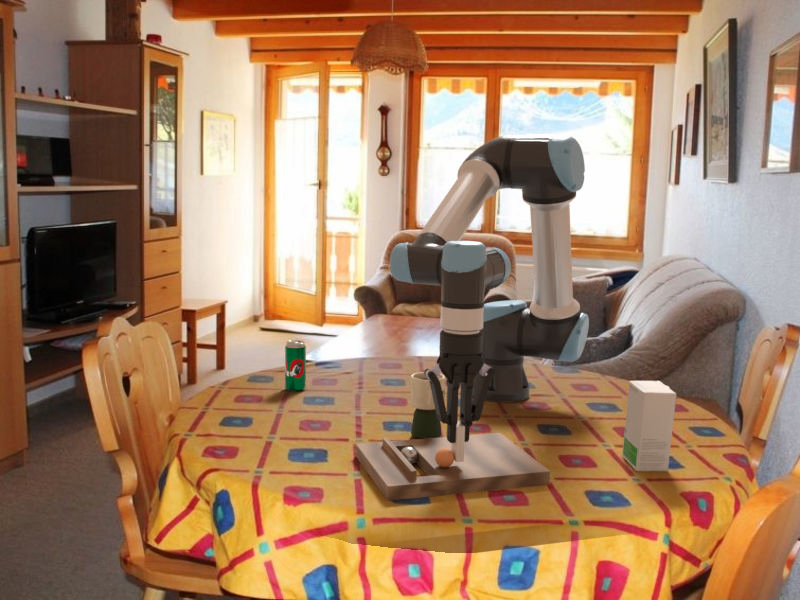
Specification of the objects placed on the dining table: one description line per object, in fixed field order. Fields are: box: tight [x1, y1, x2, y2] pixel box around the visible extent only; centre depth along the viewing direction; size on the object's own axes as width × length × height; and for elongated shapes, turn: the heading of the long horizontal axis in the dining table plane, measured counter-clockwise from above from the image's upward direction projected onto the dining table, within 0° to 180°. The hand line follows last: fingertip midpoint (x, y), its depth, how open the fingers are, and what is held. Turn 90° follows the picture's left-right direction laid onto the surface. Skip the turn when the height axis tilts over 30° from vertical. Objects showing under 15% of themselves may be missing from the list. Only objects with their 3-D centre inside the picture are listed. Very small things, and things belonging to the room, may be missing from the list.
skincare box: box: [621, 380, 677, 472], centre depth 159 cm, size 8×7×16 cm
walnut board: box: [355, 432, 551, 501], centre depth 155 cm, size 30×22×4 cm
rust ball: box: [435, 448, 454, 468], centre depth 149 cm, size 3×3×3 cm
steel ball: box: [401, 447, 418, 466], centre depth 157 cm, size 3×3×3 cm
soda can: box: [284, 339, 307, 392], centre depth 206 cm, size 5×5×12 cm
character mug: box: [409, 371, 446, 439], centre depth 172 cm, size 11×7×13 cm, turn 7°
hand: (457, 459), depth 150 cm, fingers closed
